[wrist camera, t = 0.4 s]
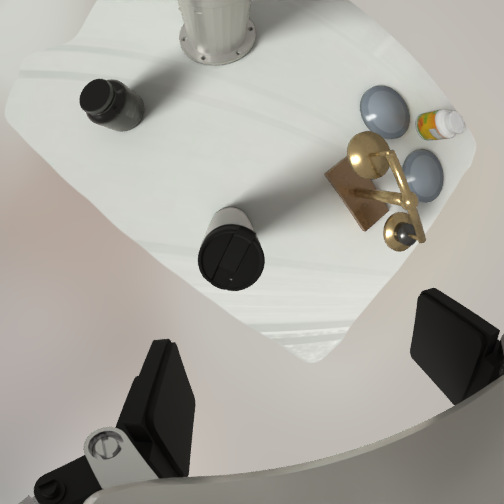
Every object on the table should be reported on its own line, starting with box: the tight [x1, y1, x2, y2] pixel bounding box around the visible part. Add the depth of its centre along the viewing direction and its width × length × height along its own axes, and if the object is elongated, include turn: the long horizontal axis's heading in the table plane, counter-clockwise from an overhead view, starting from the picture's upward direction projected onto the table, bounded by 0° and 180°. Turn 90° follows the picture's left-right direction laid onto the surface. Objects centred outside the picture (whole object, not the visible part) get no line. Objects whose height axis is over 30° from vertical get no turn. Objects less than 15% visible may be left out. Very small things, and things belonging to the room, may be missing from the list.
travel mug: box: [198, 207, 265, 291], centre depth 35 cm, size 6×7×20 cm
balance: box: [324, 131, 426, 251], centre depth 36 cm, size 20×6×18 cm, turn 39°
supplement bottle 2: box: [416, 109, 464, 140], centre depth 38 cm, size 5×5×10 cm
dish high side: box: [360, 86, 409, 139], centre depth 41 cm, size 10×10×1 cm
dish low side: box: [403, 150, 443, 202], centre depth 44 cm, size 10×10×1 cm
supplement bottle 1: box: [80, 79, 144, 132], centre depth 32 cm, size 7×7×12 cm
